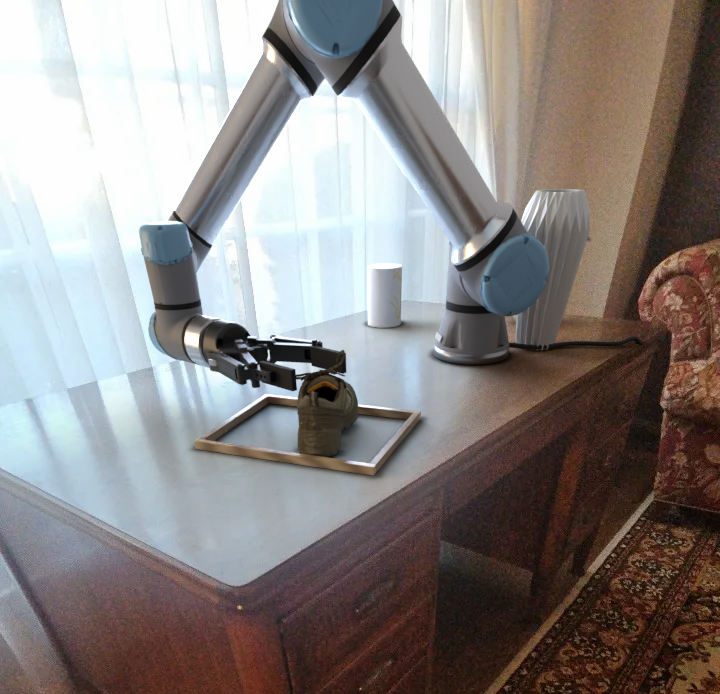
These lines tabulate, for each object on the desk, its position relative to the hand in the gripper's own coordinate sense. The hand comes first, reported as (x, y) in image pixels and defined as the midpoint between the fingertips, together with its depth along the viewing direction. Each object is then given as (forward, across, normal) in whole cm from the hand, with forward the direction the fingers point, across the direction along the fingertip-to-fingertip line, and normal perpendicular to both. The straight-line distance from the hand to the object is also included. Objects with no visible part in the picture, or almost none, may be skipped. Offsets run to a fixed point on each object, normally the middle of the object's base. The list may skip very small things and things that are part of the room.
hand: (320, 371), depth 81 cm
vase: (0, -65, -9) cm, 66 cm away
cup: (-38, -62, -10) cm, 73 cm away
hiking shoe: (-1, -1, -9) cm, 9 cm away
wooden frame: (-2, 0, -9) cm, 10 cm away
